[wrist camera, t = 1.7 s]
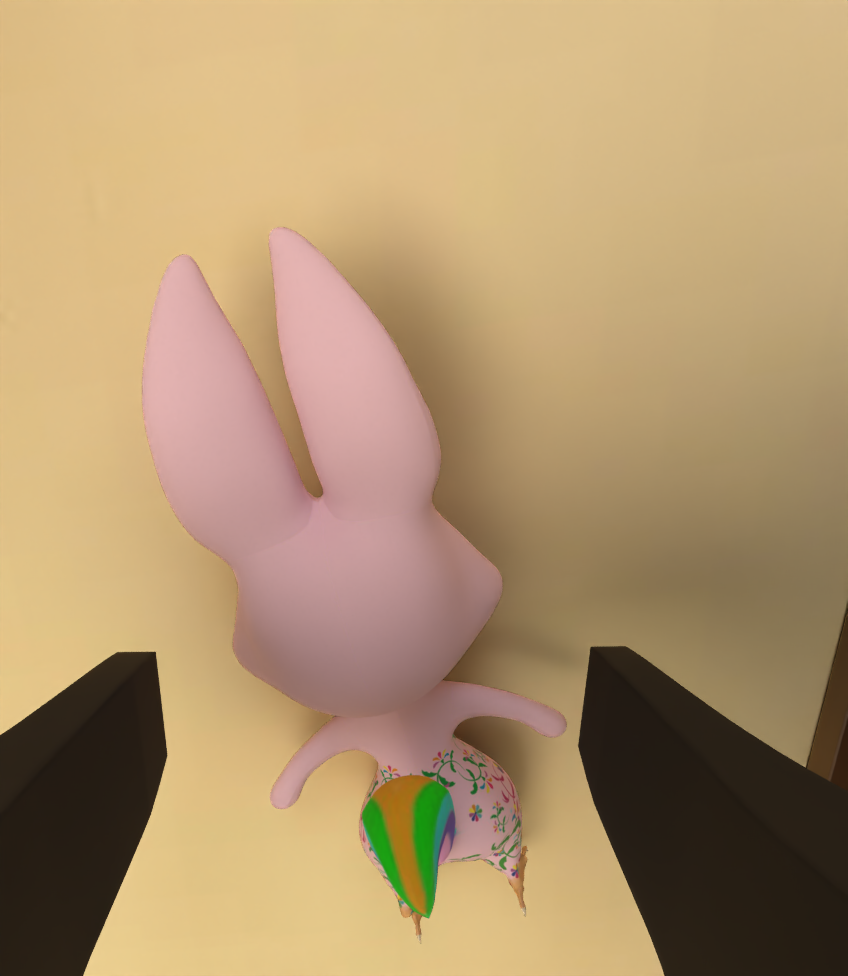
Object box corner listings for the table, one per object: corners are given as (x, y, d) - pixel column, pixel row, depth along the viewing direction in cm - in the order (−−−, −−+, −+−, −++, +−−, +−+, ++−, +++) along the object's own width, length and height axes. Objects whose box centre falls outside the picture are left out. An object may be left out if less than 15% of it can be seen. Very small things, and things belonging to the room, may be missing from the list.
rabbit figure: (567, 775, 18) (431, 171, 11) (658, 1041, 13) (515, 218, 6) (339, 835, 18) (57, 278, 11) (339, 1122, 13) (-194, 418, 6)
